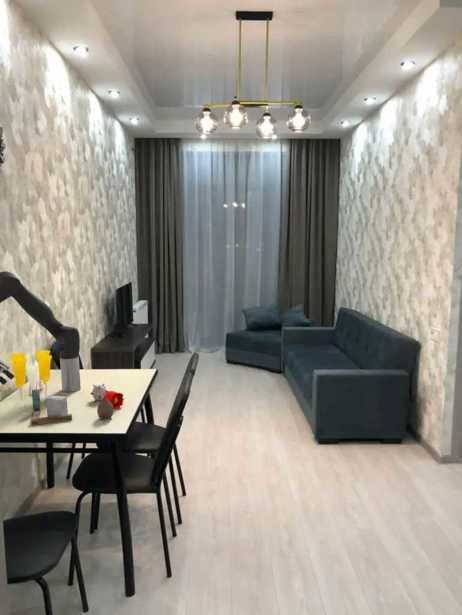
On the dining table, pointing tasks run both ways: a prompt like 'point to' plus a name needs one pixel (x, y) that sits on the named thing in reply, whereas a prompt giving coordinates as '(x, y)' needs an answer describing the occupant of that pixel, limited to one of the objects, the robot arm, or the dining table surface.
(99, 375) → the dining table surface
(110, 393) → the flower
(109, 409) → the grey rounded lump
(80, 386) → the robot arm
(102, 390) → the grey spiky ball
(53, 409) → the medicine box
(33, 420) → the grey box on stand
